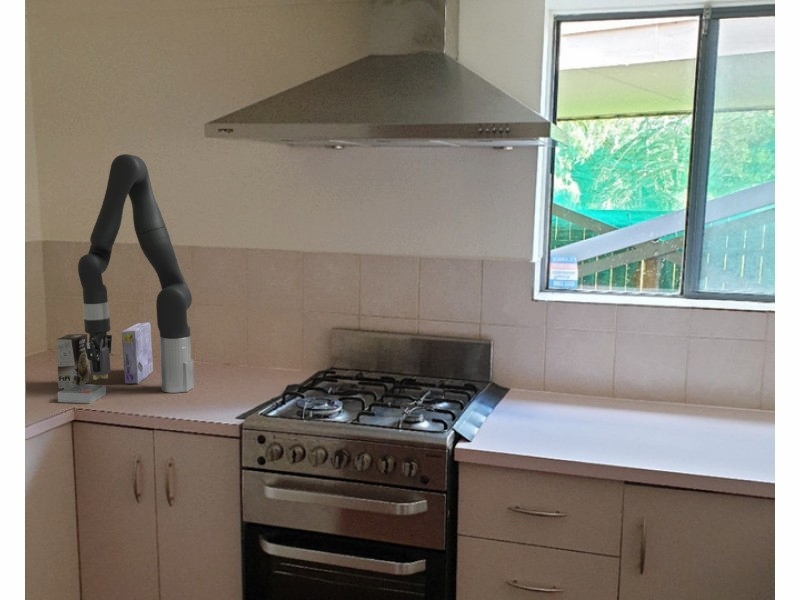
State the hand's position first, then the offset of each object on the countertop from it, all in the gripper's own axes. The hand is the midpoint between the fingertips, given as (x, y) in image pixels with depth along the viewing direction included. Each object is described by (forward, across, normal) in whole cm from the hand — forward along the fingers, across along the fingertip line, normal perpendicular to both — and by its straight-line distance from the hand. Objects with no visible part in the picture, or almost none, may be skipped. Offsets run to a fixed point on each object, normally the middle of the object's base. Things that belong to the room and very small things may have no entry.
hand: (100, 370), depth 243 cm
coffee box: (+6, +3, +11) cm, 13 cm away
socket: (+6, -11, +1) cm, 13 cm away
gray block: (+3, 0, 0) cm, 3 cm away
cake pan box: (+7, +16, -5) cm, 18 cm away
